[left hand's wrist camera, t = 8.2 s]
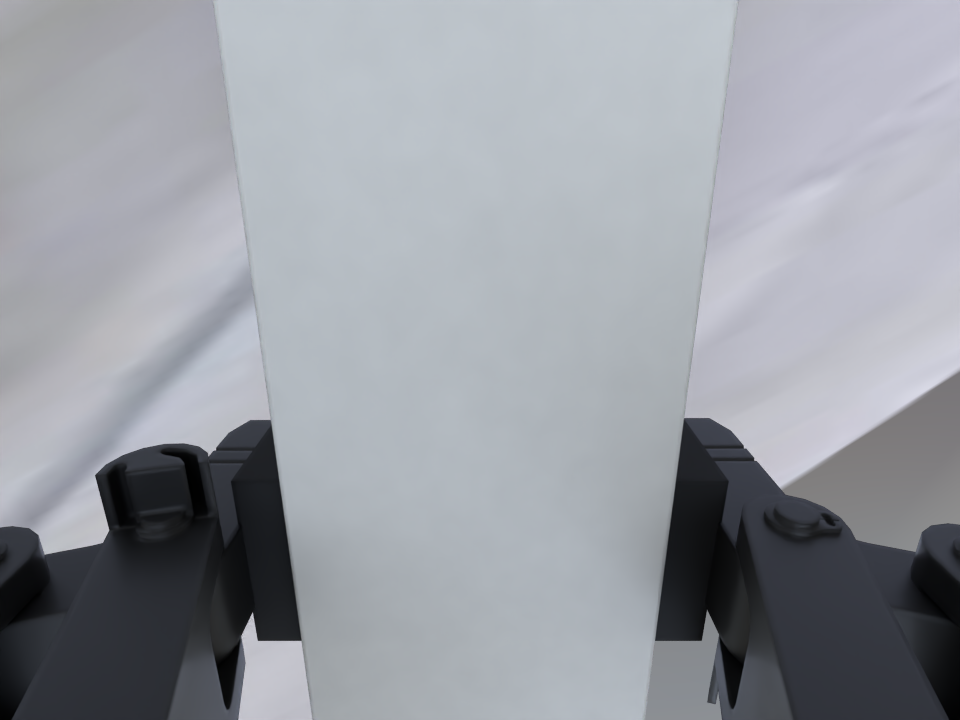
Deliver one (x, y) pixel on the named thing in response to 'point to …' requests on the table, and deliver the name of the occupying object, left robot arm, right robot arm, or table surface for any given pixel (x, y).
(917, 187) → the table surface
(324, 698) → the post
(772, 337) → the table surface
